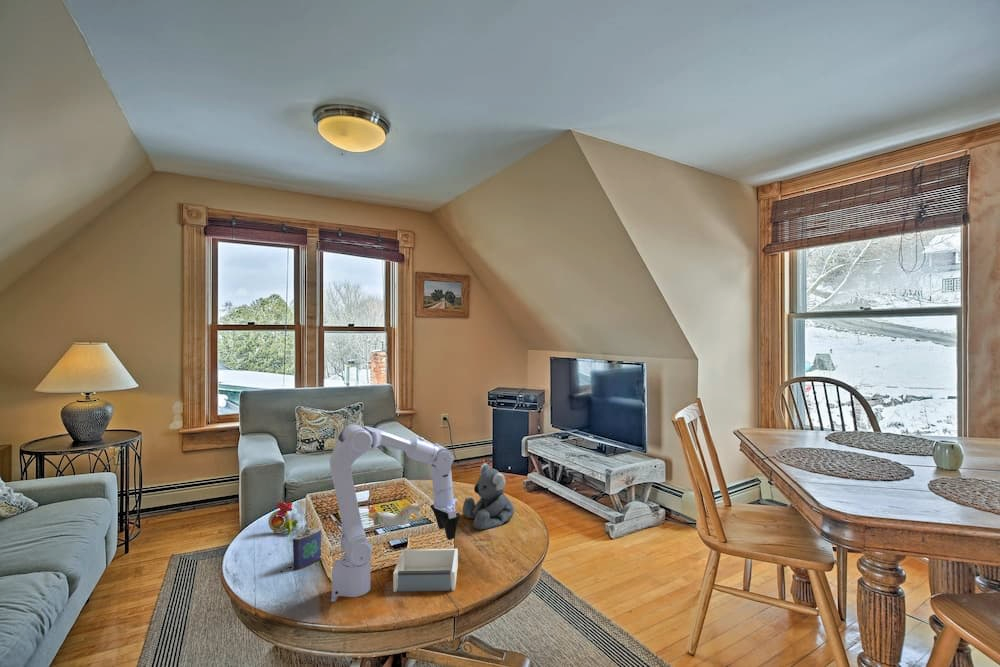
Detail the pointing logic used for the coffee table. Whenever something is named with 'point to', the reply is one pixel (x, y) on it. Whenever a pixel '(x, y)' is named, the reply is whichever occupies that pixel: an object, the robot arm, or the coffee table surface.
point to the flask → (307, 548)
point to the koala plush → (489, 500)
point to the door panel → (424, 580)
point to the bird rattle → (278, 521)
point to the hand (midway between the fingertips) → (446, 533)
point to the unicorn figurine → (397, 515)
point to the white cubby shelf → (427, 563)
